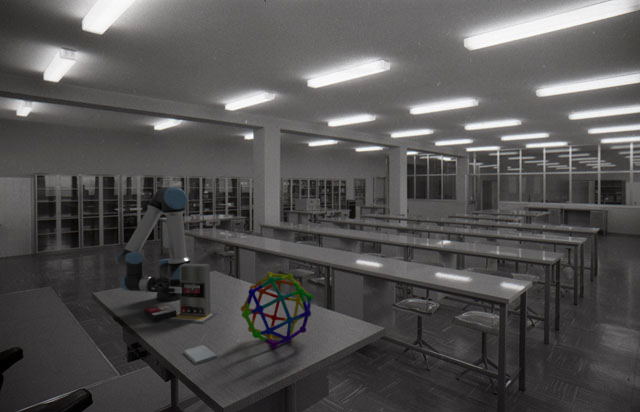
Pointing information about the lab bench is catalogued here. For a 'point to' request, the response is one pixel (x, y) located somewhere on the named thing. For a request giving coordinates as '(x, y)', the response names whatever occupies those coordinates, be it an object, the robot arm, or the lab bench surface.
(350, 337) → the lab bench surface
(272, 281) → the geometric model
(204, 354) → the hard drive
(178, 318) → the picture board
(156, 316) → the calculator
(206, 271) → the grey instrument box
